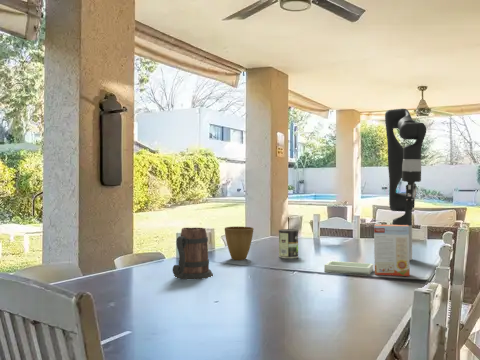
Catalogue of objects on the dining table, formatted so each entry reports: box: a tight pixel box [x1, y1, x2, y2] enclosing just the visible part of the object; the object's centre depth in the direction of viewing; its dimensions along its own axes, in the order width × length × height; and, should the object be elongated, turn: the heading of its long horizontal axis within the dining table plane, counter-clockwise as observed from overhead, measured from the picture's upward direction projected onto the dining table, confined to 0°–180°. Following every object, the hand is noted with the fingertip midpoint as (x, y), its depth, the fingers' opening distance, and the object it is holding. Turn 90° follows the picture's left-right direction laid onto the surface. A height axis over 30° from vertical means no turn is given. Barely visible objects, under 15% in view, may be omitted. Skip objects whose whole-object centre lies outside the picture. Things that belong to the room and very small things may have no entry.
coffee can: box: [278, 228, 299, 259], centre depth 242 cm, size 10×10×14 cm
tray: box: [323, 260, 374, 276], centre depth 202 cm, size 11×19×3 cm, turn 65°
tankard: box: [172, 227, 214, 280], centre depth 193 cm, size 24×17×20 cm
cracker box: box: [373, 224, 411, 277], centre depth 195 cm, size 14×6×21 cm, turn 71°
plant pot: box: [224, 226, 254, 261], centre depth 236 cm, size 15×15×16 cm
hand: (410, 208), depth 195 cm, fingers open, 8 cm apart
